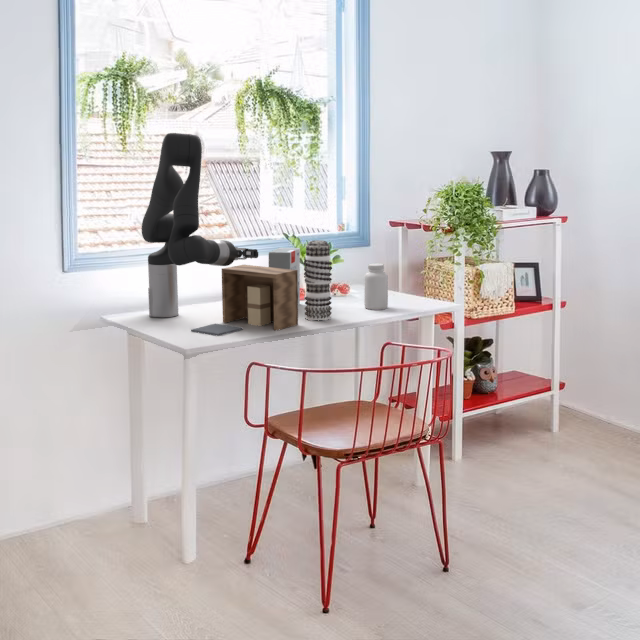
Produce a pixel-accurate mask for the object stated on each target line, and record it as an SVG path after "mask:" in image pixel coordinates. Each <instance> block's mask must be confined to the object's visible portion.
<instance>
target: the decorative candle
mask: <svg viewBox="0 0 640 640" xmlns="http://www.w3.org/2000/svg"><path fill="white" fill-rule="evenodd" d="M330 247H331V245H330V244H329V243H328V241H327V240H319V239H318V240H317V239H315V240H310V241H308V242H307V244H306V245H305V257H304V259H303V260H304V261H303V265H304V268H303V270H304V273H303V275H304V276H305V278H304V283H305V285H306V288H305V290H306V291H305V297H304V299H305V300H306V301H305V302H304V304H305V305H306V306H305V307H304V310H305V312H304V315H305V317H304V318H306V319H305V320H307V319H308V320H307V321H312V320H318V321H317V322H320V321H319V320H325V321H329V320H331V319H332V311H331V310H332V307H331V304H332V301H331V300H332V296H331V290H330V288H331V286H330V284H331V283H332V278H331V276H332V273H331V272H330V271H331V270H332V269H333V267H332V266H331V265H332V264H333V262H332V261H331V254H330V252H331V251H330ZM328 319H329V320H328Z"/></svg>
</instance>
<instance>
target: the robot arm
mask: <svg viewBox="0 0 640 640" xmlns="http://www.w3.org/2000/svg"><path fill="white" fill-rule="evenodd" d="M161 143H162V145H161V149H160V155H159V163H158V168H157V172H156V176H155V178H154V179H155V180H154V182H153V185H152V189H151V193H150V200H149V203H148V206H147V209H146V211H145V213H144V216H143V218H142V222H141V236H142V239H143V240H144V241H145V242H146V243H150V244H156V243H157V244H158V243H164V245H163V246H162V248H160V249H158V250H156V251H154V252H151V253H150V254H149V255H148V256H147V265H148V266H147V268H148V294H147V295H148V314H149V315H148V316H149V318H151V317H152V318H171V317H176V316H178V315H179V295H178V294H179V292H178V291H179V290H178V289H179V288H178V287H179V286H178V266H185V265H187V264H190V263H197V264H200V265H209V266H216V267H217V266H218V267H219V266H220V267H228V266H230V265H232V264H233V262H235V261H239V260H242V261H243V260H244V261H245V260H247V259H251V260H252V259H258V257H259V251H258V249H257V248H255V249H253V248H250V249H249V248H246V247H238V246H235V245H234V243H232V242H231V241H229V240H222V239H206V238H205V237H204V236H202V235H200V234H198V235H197V234H196V235H195V234H194V233H195V232H197V231H198V230H199V227H200V219H199V218H200V217H199V215H200V214H199V196H200V195H199V192H200V184H201V170H202V156H203V155H202V154H203V153H202V152H203V151H202V148H203V147H202V145H203V144H202V140H201V138H200V137H199V135H197V134H192V133H191V134H190V133H182V132H181V133H180V132H179V133H178V132H169V133H166V135H165V136H164V137H163V140H162V142H161ZM174 166H176V167H186V168H187V167H188V168H189V170H188V171H189V172H188V176H187V178H186V179H185V182H184V181H183V178H182V177H181V176H180V174H179V173H178V171H177V170H176V169H175V167H174ZM172 212H173V213H172ZM192 234H194V235H192Z"/></svg>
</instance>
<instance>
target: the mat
mask: <svg viewBox="0 0 640 640" xmlns="http://www.w3.org/2000/svg"><path fill="white" fill-rule="evenodd" d="M243 328H244V327H242V326H234V325H226V324H223V323H222V324H221V323H212V324H209V325H208V324H207V325H204V326H199V327H195V328H192V329H191V330H190V332H191V331H193V333H198V332H199V333H198V334H204V333H205V335H210V334H211V336H216V335H217V336H218V337H219V336H223V335H226V334H227V335H228V334H232V333H235V332H238V331H242V330H243ZM217 336H216V337H217Z"/></svg>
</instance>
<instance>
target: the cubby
mask: <svg viewBox="0 0 640 640" xmlns="http://www.w3.org/2000/svg"><path fill="white" fill-rule="evenodd" d="M257 284H259V285H267V286H270V302H271V307H270V317H271V321H273V330H274V331H276V330H277V331H280V330H283V328H284V329H287V328H290V327H291V328H292V327H294V326H297V325H299V309H298V308H299V305H298V273H297V270H292V269H282V268H272V267H269V266H261V265H251V264H241V265H240V264H239V265H234V266H229V267H228V266H227V267H223V268H221V298H222V299H221V300H222V303H221V304H222V324H223V323H230V321H231V322H233V321H234V320H235V321H239V320H242V318H243V319H248V290H247V286H252V285H257ZM238 319H239V320H238ZM235 321H234V322H235ZM279 329H280V330H279Z"/></svg>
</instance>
